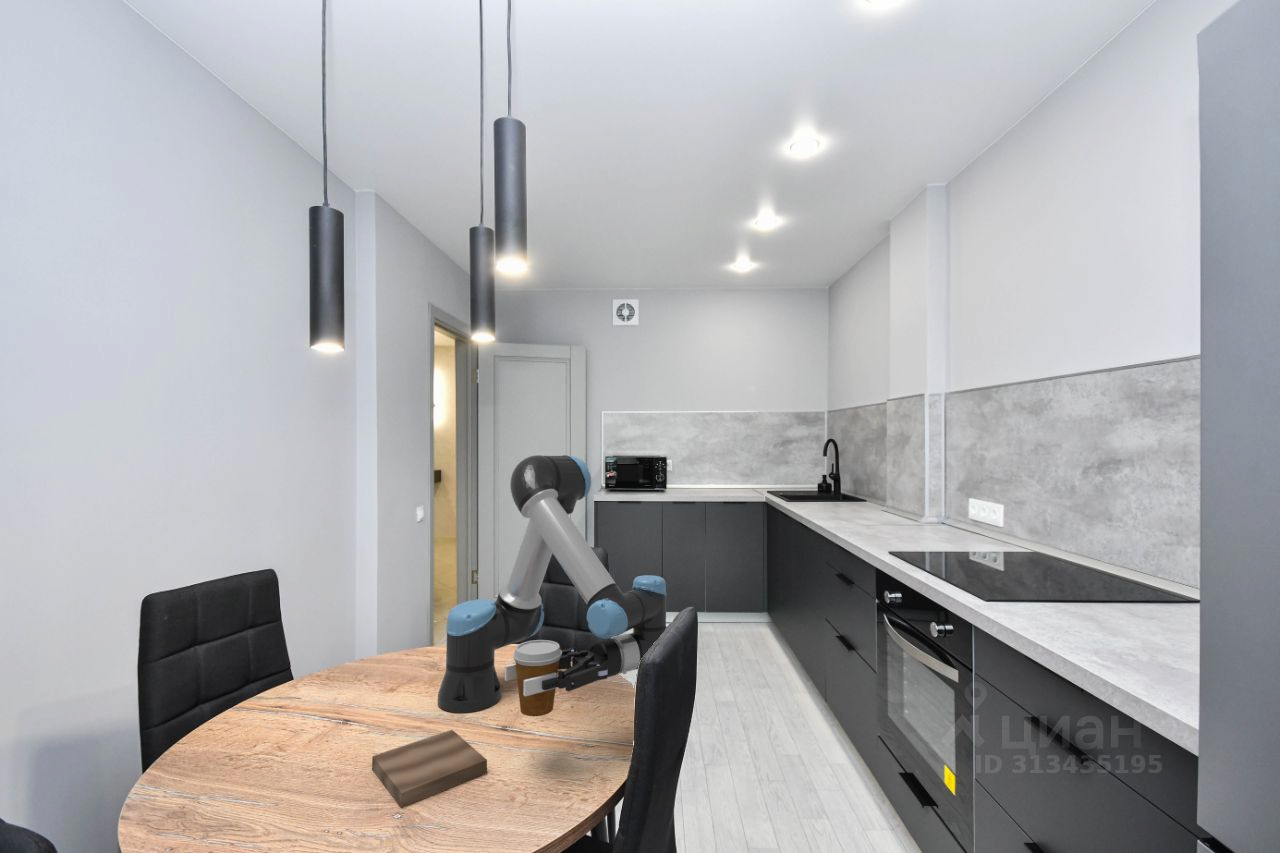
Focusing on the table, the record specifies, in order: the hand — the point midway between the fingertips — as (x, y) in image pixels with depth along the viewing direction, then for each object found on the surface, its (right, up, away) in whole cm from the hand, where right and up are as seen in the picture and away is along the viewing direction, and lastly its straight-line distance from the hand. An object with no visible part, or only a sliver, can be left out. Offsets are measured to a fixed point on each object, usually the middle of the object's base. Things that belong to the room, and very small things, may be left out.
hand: (514, 680), depth 107 cm
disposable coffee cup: (+4, -7, +2) cm, 8 cm away
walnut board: (-17, -18, +1) cm, 25 cm away
